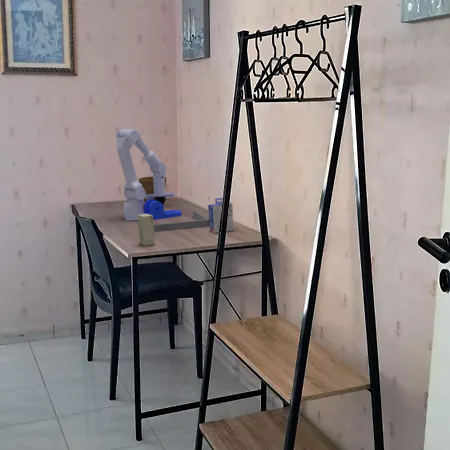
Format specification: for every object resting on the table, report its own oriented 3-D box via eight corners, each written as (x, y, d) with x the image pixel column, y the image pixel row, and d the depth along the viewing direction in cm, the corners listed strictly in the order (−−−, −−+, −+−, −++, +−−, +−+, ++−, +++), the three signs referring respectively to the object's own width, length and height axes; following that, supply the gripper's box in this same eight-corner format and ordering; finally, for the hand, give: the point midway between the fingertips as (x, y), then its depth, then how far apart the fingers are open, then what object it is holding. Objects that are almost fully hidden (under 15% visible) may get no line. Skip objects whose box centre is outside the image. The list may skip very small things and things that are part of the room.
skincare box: (155, 244, 256) (153, 215, 253) (145, 246, 254) (143, 216, 251) (148, 241, 261) (146, 213, 259) (138, 243, 259) (137, 214, 256)
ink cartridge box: (228, 228, 282) (227, 196, 279) (234, 230, 277) (233, 198, 274) (208, 231, 277) (207, 199, 274) (214, 233, 272) (213, 200, 269)
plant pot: (136, 210, 333) (134, 180, 330) (145, 205, 347) (143, 176, 344) (162, 210, 330) (161, 180, 327) (171, 205, 344) (169, 176, 341)
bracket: (151, 220, 306) (150, 202, 304) (144, 217, 313) (143, 200, 311) (184, 215, 314) (183, 198, 312) (177, 213, 321) (176, 196, 320)
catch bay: (148, 232, 279) (148, 225, 279) (138, 221, 303) (138, 215, 302) (210, 226, 287) (209, 219, 287) (195, 216, 311) (195, 210, 310)
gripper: (146, 187, 313) (148, 214, 316) (175, 185, 318) (176, 211, 320) (144, 185, 320) (145, 211, 323) (171, 183, 324) (173, 209, 327)
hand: (160, 211), depth 322 cm, fingers closed
